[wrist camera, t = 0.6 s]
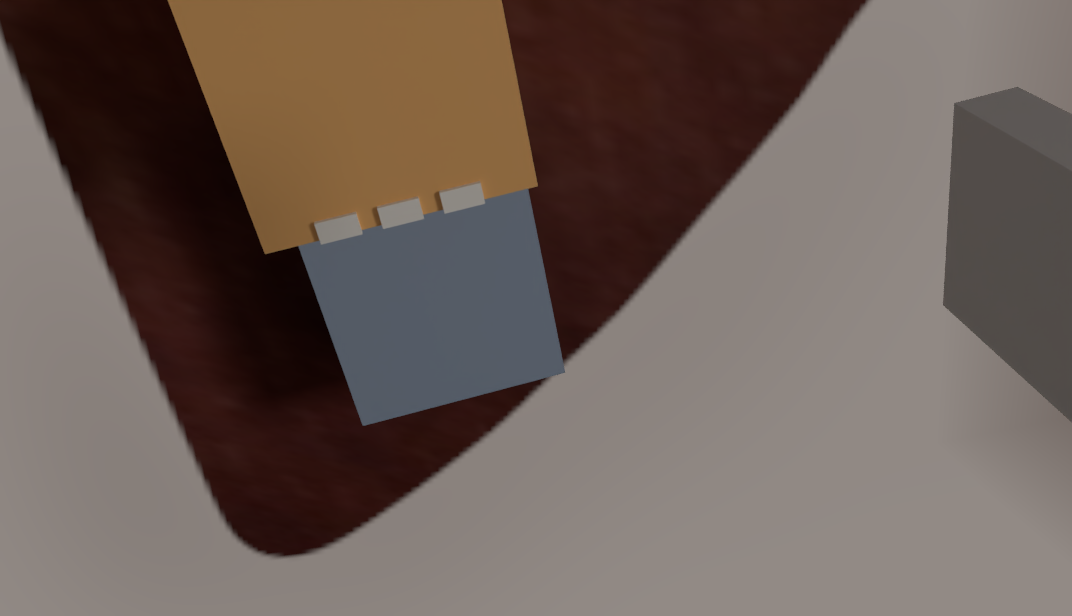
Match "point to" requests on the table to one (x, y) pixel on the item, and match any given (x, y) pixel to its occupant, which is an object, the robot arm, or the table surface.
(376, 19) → the orange connector module
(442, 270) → the grey connector module
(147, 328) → the table surface
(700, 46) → the table surface
